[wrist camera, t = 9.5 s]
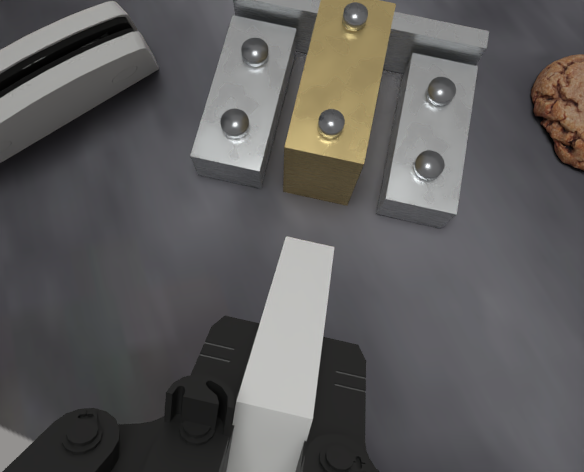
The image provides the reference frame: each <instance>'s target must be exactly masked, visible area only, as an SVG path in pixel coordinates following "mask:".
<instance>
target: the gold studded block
mask: <svg viewBox="0 0 584 472" xmlns="http://www.w3.org/2000/svg"><path fill="white" fill-rule="evenodd" d="M395 6H396V4H394V3H389V2H384V1H379V0H321V1H320V5H319V9H318V13H317V17H316V21H315V25H314V29H313V34H312V38H311V42H310V46H309V50H308V54H307V58H306V62H305V66H304V70H303V74H302V78H301V82H300V86H299V90H298V94H297V98H296V102H295V106H294V110H293V115H292V119H291V123H290V127H289V131H288V135H287V139H286V143H285V147H284V187H283V192H287V193H292V194H296V195H301V196H306V197H310V198H315V199H319V200H324V201H329V202H333V203H338V204H342V205H348V202H349V200H350V197H351V195H352V192H353V190H354V187H355V185H356V182H357V180H358V178H359V175H360V173H361V170H362V168H363V165H364V161H365V156H366V151H367V146H368V141H369V136H370V131H371V126H372V121H373V116H374V111H375V106H376V101H377V96H378V91H379V86H380V81H381V76H382V71H383V66H384V61H385V56H386V51H387V46H388V41H389V36H390V31H391V26H392V21H393V16H394V11H395Z"/></svg>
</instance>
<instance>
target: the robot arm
mask: <svg viewBox="0 0 584 472" xmlns="http://www.w3.org/2000/svg"><path fill="white" fill-rule="evenodd" d="M333 254H334V247H331V246H327V245H322V244H318V243H313V242H309V241H304V240H300V239H295V238H291V237H286V238H285V242H284V245H283V248H282V252H281V255H280V258H279V262H278V265H277V268H276V272H275V275H274V278H273V282H272V285H271V288H270V291H269V295H268V298H267V301H266V305H265V308H264V311H263V315H262V318H261V321H260V324H259V323H255V322H250V321H246V320H241V319H237V318H233V317H228V316H224V317H223V318H221V319H220V320H219V321H218V322H217V323H215V324H214V325H213V326H212V327H211V329H210V331H209V334H208V336H207V338H206V341H205V344H204V345H203V348H202V350H201V352H200V356H199V357H198V359H197V362H196V364H195V366H194V369H193V371H192V373H191V376H186V377H183V378H181V379H180V380H178V381H176V382H175V383H173V384H172V386H171V387H170V388H169V389H168V391H167V392H166V402H165V416H164V417H162V418H160V419H157V420H155V421H152V422H147V423H140V424H123V425H118V424H117V421H116V419H115V418H114V417H113V416H111V415H110V414H109V413H107V412H106V411H102V410H99V409H95V408H88V409H78V410H75V411H72V412H70V413H67V414H65V415H63V416H62V417H61V418H59V419H58V420H56V421H55V422H54V423H53V424H52V425H51V426H50V427H48V428H47V429H46V430H45V431H44V432H43V433H42V434H41V435H40V436H39V437H38V438H37V439H36V440H35V441H34V442H33V443H32V444H31V445H30V446H29V447H28V448H27V449H26V450H25V451H24V452H22V453H21V455H20V456H19V457H17V458H16V459H15V460H14V461H13V462H12V463H11V464H10V465H9V466H8V467H7V468H6V469H5V470H4V471H3V472H379V471H378V470H377V469H376V468H375V466H374V465H373V463H372V462H371V460H370V459H369V456H368V454H367V451H366V446H365V394H366V393H365V390H366V380H365V378H366V360H365V358H364V356H363V354H362V352H361V350H360V348H359V346H358V345H356V344H352V343H348V342H343V341H339V340H334V339H330V338H326V337H323V334H324V326H325V318H326V310H327V302H328V294H329V286H330V278H331V270H332V262H333Z"/></svg>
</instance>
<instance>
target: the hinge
mask: <svg viewBox="0 0 584 472" xmlns="http://www.w3.org/2000/svg"><path fill="white" fill-rule="evenodd" d="M158 69H159V67H158V65H157V62H156V60H155V57H154V55H153V54H152V52H151V50H150V48H149V47H148V45H147V43H146V42H145V40H144V38H143V36H142V35H141V33H140V32H138V30H137V28H136V27H135V25H134V23H133V22H132V20H131V19H130V17H129V15H128V14H127V13H126V12H125V11H124V10H123V9H122V8H121V7H120V6H119V5H118V4H117V2H114V1H109V2H105V3H102V4H99V5H97V6H94V7H91V8H88V9H85V10H83V11H80V12H78V13H75V14H73V15H70V16H68V17H65V18H63V19H61V20H59V21H57V22H54V23H52V24H50V25H48V26H46V27H44V28H41V29H39V30H37V31H35V32H33V33H31V34H29V35H27V36H25V37H23V38H21V39H19V40H17V41H16V42H14V43H12V44H10V45H8V46H7V47H5V48H3V49H1V50H0V163H1V162H3V161H5V160H6V159H8V158H10V157H11V156H13V155H15V154H16V153H18V152H20V151H21V150H23V149H25V148H27V147H28V146H30V145H32V144H33V143H35V142H37V141H38V140H40V139H42V138H43V137H45V136H47V135H49V134H50V133H52V132H54V131H55V130H57V129H59V128H60V127H62V126H64V125H65V124H67V123H69V122H70V121H72V120H74V119H76V118H77V117H79V116H81V115H82V114H84V113H86V112H87V111H89V110H91V109H92V108H94V107H96V106H98V105H99V104H101V103H103V102H104V101H106V100H108V99H109V98H111V97H113V96H114V95H116V94H118V93H119V92H121V91H123V90H125V89H126V88H128V87H130V86H131V85H133V84H135V83H136V82H138V81H140V80H141V79H143V78H145V77H146V76H148V75H150V74H152V73H153V72H155V71H157V70H158Z"/></svg>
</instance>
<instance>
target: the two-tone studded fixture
mask: <svg viewBox="0 0 584 472" xmlns="http://www.w3.org/2000/svg"><path fill="white" fill-rule="evenodd" d="M320 1H321V0H233V2H234V10H235V16H234V15H233V16H232V20H231V23H230V26H229V30H228V33H227V36H226V40H225V43H224V46H223V49H222V53H221V56H220V59H219V63H218V66H217V69H216V73H215V76H214V79H213V83H212V86H211V89H210V93H209V96H208V99H207V103H206V106H205V109H204V113H203V116H202V119H201V122H200V126H199V129H198V132H197V136H196V139H195V142H194V146H193V149H192V152H191V159H192V161H193V164H194V166H195V169H196V171H197V174H198V175H201V176H205V177H210V178H214V179H219V180H223V181H228V182H232V183H237V184H241V185H246V186H251V187H255V188H260V189H261V188H262V184H263V180H264V176H265V172H266V168H267V164H268V160H269V156H270V152H271V149H272V145H273V141H274V137H275V133H276V129H277V125H278V121H279V117H280V113H281V109H282V106H283V102H284V98H285V94H286V90H287V86H288V82H289V78H290V74H291V70H292V66H293V63H294V59H295V51H298V52H303V53H307V54H308V50H309V46H310V42H311V38H312V34H313V29H314V25H315V21H316V17H317V13H318V9H319V5H320ZM488 35H489V31H485V30H481V29H476V28H471V27H466V26H461V25H456V24H452V23H447V22H442V21H437V20H432V19H427V18H422V17H418V16H413V15H408V14H403V13H398V12H394V16H393V21H392V26H391V31H390V36H389V41H388V46H387V51H386V56H385V61H384V66H383V70H388V71H393V72H398V73H402V74H404V75H403V77H402V80H401V85H400V91H399V96H398V101H397V107H396V112H395V117H394V123H393V128H392V133H391V138H390V144H389V149H388V154H387V160H386V165H385V170H384V176H383V181H382V186H381V192H380V197H379V202H378V208H377V213H376V214H378V215H382V216H387V217H391V218H396V219H400V220H405V221H410V222H414V223H419V224H423V225H428V226H432V227H437V228H442V227H443V226H444V225H445V224H446V223H448V222H449V221H450V220H451V219H452V218H453V217H454V216H455V215H457V209H458V202H459V195H460V188H461V181H462V174H463V167H464V160H465V153H466V146H467V139H468V132H469V125H470V118H471V111H472V104H473V97H474V90H475V83H476V76H477V69H478V66H476V64H477V63H478V61H479V60H480V58H481V56H482V55H483V53H484V52H485V50H486V49H487V42H488Z"/></svg>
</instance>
